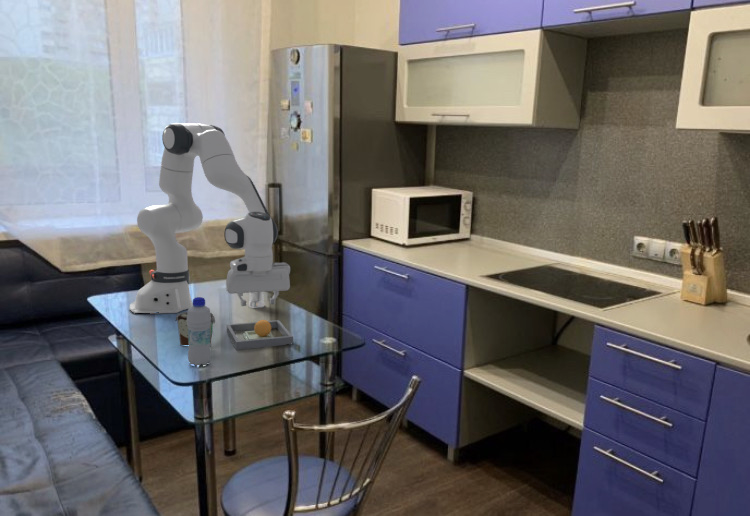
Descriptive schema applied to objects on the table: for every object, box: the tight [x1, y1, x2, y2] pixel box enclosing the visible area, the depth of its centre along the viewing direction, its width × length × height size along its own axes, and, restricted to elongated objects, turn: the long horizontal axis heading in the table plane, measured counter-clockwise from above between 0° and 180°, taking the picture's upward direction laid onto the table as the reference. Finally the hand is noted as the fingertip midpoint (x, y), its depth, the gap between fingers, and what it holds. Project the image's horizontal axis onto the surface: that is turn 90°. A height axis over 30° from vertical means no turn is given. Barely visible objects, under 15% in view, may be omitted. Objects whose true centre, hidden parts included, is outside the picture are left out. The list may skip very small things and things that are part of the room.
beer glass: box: [248, 292, 265, 309], centre depth 226 cm, size 7×7×15 cm
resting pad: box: [242, 330, 274, 340], centre depth 193 cm, size 9×9×1 cm
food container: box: [175, 310, 216, 348], centre depth 184 cm, size 12×6×10 cm, turn 84°
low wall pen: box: [225, 319, 294, 351], centre depth 192 cm, size 18×18×2 cm
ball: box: [253, 319, 272, 337], centre depth 192 cm, size 6×6×6 cm
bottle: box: [187, 296, 212, 366], centre depth 166 cm, size 7×7×20 cm
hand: (258, 304), depth 191 cm, fingers open, 8 cm apart
